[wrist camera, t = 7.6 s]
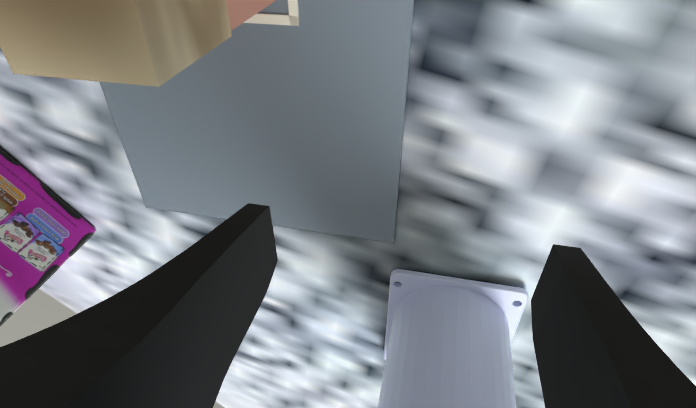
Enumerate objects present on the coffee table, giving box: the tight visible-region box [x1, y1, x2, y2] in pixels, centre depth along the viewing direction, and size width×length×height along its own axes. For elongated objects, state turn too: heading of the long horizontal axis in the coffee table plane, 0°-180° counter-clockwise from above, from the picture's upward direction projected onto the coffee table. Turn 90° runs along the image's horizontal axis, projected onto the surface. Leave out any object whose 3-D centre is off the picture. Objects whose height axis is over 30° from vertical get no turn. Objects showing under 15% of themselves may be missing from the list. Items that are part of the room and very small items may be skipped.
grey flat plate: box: [100, 0, 414, 243], centre depth 20 cm, size 20×16×1 cm
